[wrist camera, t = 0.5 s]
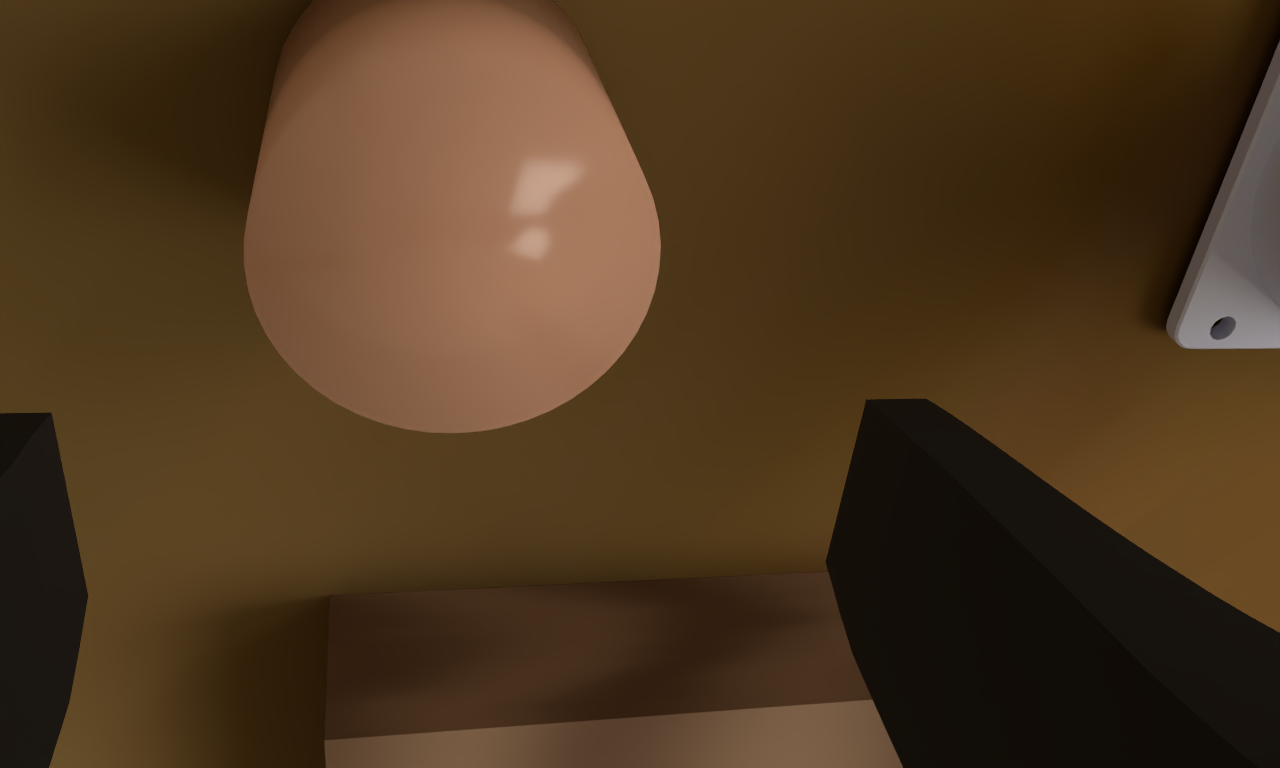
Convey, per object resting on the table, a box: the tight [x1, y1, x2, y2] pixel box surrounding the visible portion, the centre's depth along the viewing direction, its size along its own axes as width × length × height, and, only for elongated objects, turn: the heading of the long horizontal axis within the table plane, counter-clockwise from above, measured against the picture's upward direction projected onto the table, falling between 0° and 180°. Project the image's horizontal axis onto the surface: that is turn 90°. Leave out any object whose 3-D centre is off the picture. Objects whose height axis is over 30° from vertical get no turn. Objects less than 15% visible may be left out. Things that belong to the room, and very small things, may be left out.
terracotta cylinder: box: [244, 0, 661, 433], centre depth 17 cm, size 5×5×5 cm
